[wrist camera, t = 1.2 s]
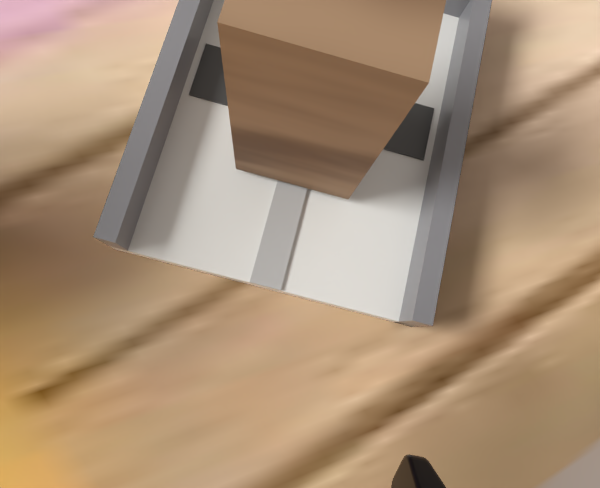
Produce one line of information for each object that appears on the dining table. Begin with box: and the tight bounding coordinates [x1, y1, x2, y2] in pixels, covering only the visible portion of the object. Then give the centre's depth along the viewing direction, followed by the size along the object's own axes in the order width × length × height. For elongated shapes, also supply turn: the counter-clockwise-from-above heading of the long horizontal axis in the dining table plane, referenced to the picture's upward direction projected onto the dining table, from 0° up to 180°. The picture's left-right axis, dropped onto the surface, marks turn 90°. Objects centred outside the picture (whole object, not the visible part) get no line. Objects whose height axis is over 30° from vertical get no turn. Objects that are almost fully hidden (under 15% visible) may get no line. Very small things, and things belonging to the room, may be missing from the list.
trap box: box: [93, 0, 492, 327], centre depth 23 cm, size 19×16×5 cm
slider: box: [217, 0, 446, 199], centre depth 18 cm, size 5×6×11 cm
